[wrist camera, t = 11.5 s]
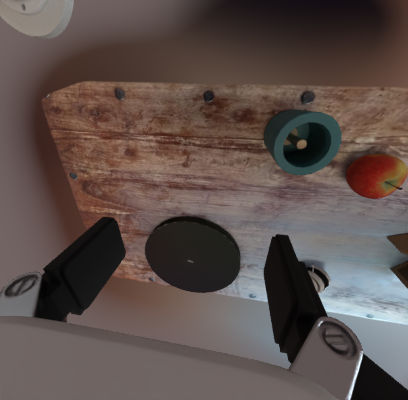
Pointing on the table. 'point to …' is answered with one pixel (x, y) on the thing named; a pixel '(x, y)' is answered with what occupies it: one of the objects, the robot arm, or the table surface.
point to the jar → (307, 130)
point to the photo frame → (404, 244)
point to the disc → (193, 254)
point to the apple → (376, 175)
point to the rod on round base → (295, 140)
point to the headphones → (319, 277)
